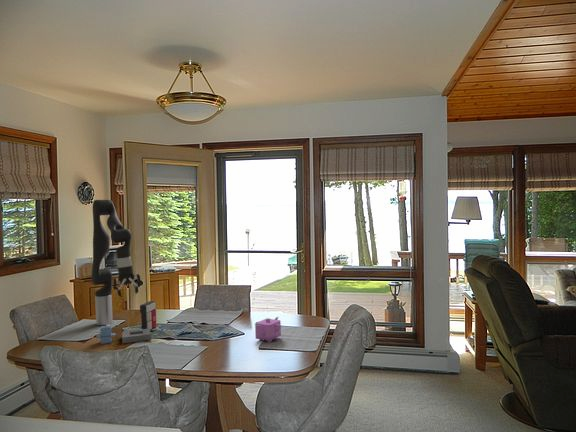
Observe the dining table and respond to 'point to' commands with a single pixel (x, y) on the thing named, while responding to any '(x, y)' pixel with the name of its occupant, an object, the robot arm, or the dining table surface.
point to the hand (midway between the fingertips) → (128, 295)
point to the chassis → (136, 335)
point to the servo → (105, 334)
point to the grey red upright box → (148, 315)
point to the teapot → (268, 329)
